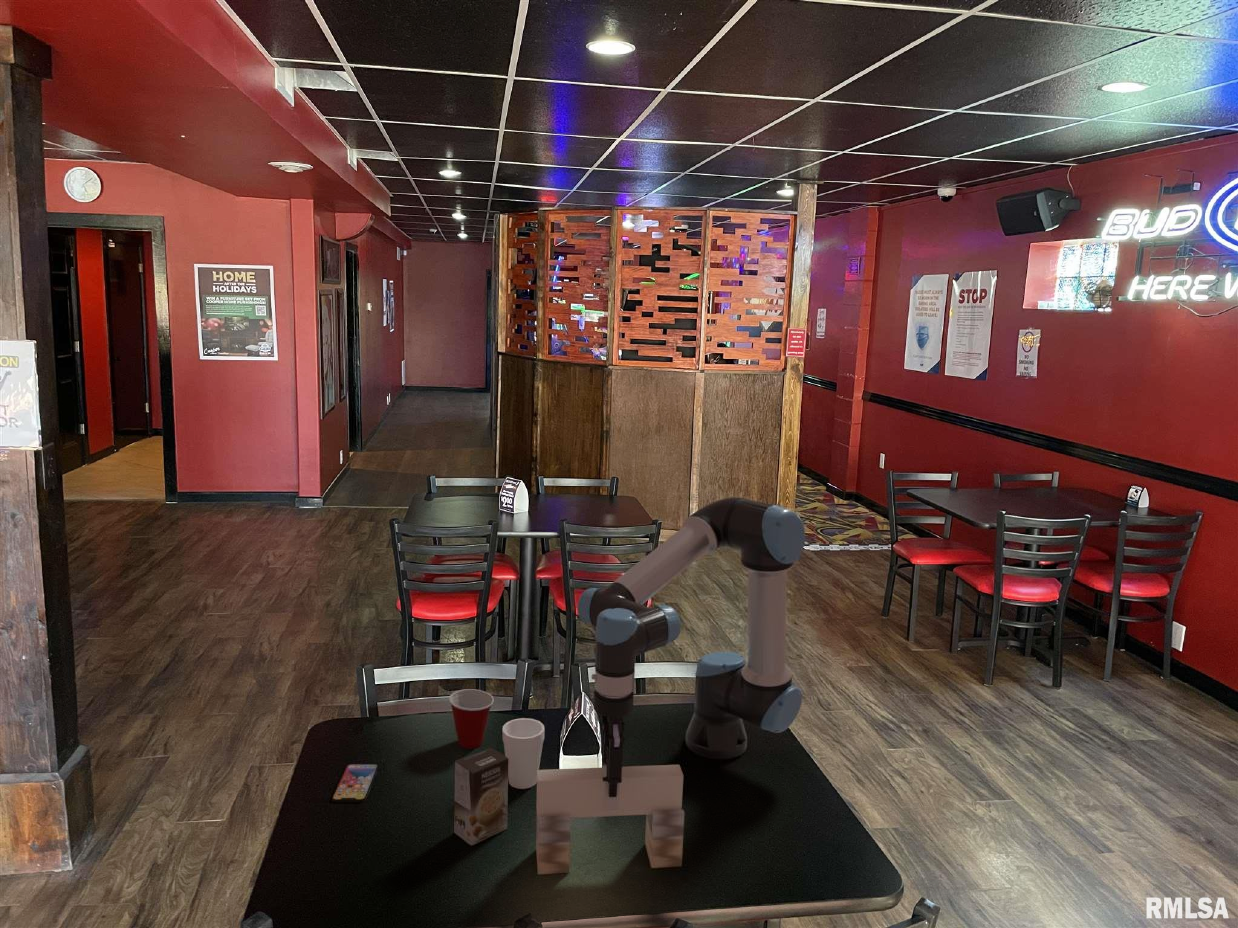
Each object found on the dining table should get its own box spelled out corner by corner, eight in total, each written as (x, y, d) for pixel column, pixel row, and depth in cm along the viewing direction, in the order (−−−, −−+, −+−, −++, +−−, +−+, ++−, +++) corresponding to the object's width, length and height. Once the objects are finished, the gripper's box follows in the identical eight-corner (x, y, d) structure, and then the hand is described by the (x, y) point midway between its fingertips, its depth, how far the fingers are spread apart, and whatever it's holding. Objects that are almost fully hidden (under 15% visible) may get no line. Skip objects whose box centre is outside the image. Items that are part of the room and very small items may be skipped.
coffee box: (471, 847, 177) (471, 773, 174) (453, 832, 182) (453, 760, 179) (508, 828, 184) (509, 757, 181) (490, 815, 188) (490, 745, 185)
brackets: (674, 842, 181) (676, 790, 179) (681, 865, 174) (684, 812, 171) (536, 849, 177) (537, 796, 175) (537, 874, 170) (538, 819, 168)
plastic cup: (493, 753, 213) (494, 707, 211) (447, 755, 211) (447, 708, 209) (494, 731, 223) (494, 686, 221) (450, 732, 222) (450, 687, 220)
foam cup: (547, 771, 206) (548, 719, 203) (539, 794, 197) (540, 740, 194) (506, 768, 207) (507, 716, 204) (497, 790, 198) (497, 736, 195)
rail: (677, 801, 177) (679, 764, 176) (681, 812, 173) (683, 775, 172) (536, 807, 173) (537, 769, 172) (537, 819, 170) (537, 780, 168)
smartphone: (379, 763, 206) (365, 799, 191) (379, 767, 206) (365, 803, 191) (347, 763, 206) (330, 799, 191) (347, 767, 206) (330, 803, 191)
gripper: (589, 671, 176) (586, 778, 181) (599, 712, 160) (595, 829, 164) (627, 670, 177) (622, 777, 182) (640, 710, 161) (635, 827, 165)
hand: (609, 801), depth 173 cm, fingers closed on rail, 4 cm apart
